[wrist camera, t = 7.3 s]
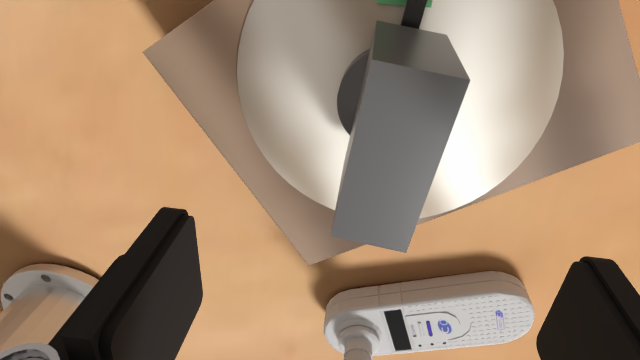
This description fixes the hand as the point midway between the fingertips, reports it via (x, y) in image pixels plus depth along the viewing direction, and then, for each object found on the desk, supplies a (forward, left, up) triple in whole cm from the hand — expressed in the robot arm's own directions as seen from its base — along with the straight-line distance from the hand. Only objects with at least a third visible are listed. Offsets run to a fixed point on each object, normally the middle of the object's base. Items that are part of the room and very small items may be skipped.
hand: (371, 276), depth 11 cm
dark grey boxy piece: (+2, +1, -12) cm, 12 cm away
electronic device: (-5, -17, -16) cm, 24 cm away
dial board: (+1, 0, -16) cm, 15 cm away
